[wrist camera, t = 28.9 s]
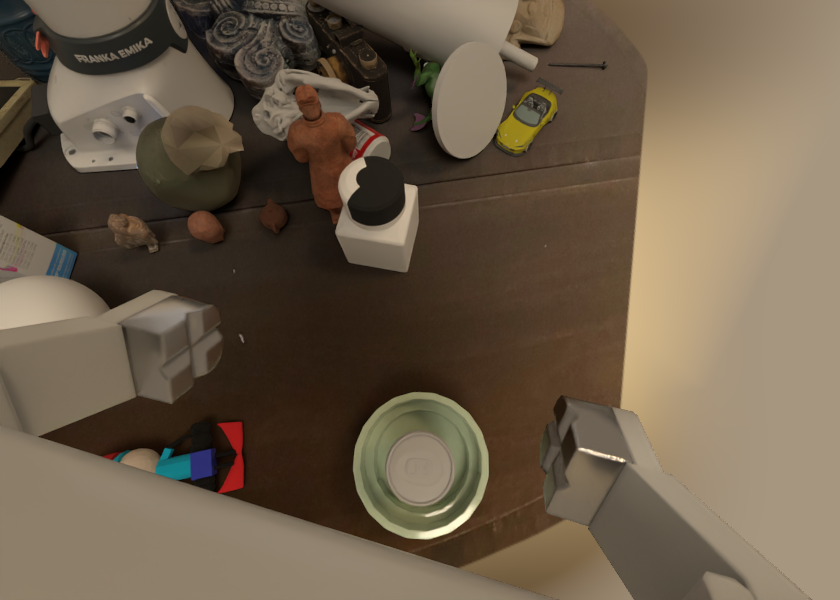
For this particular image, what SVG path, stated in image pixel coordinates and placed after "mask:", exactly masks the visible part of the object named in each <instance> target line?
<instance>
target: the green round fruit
mask: <svg viewBox="0 0 840 600" xmlns="http://www.w3.org/2000/svg"><path fill="white" fill-rule="evenodd" d="M232 129H233V124H232V123H231V122H229V121H228V120H227V119H226V118H225V117H223V116H222V115H221V114H219V113H215V112H211V111H210V110H209V109H205V108H202V107H199V106H194V105H190V106H184V107H180V108H178V109H176V110H174V111H173V112H172V113H171V114H170V115H169V116H167V117H163V118H160V119H157V120H155V121H153V122H151V123H150V124H148V125H147V126H146V127H145V128H144V129H143V131H142V132H141V134H140V136H139V139H138V143H137V147H136V162H137V167H138V171H139V173H140V175H141V177H142V179H143V180H144V182H145V183H146V185H147V186H148V188H149V189H150V190H151V191H152V192H153V193H154V194H155V195H156V196H157V197H158V198H159V199H160V200H161V201H162V202H164V203H165V204H167V205H169V206H172V207H174V208H178V209H183V210H189V211H195V212H197V211H202V210H203V211H213V210H216V209H218V208H220V207H222V206H224V205H226V204H227V203H229V202H230V201H231V200H233V199H234V197H235V196H236V195H237V193H238V190H239V185H240V181H241V159H240V154H239V151H243V150H244V148H243V145H242V137H241V136H240V135H239V134H238V133H237V132H235V131H233V130H232Z"/></svg>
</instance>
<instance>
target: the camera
mask: <svg viewBox="0 0 840 600" xmlns="http://www.w3.org/2000/svg"><path fill="white" fill-rule="evenodd" d="M305 10H306V13H307V16H308V20H309V23H310V25H311V27H312V29H313V32H314V35H315V36H316V39H317V41H318V45H319V49H320V51H321V56H320V59H318V60H317V67H316V68H315V69H313V70H311V71H309V72H312V73H319V75H320V76H322V77H325V78H326V77H327V78H337V79H340V80H341V81H342V83H345V84H348V85H350V86H352V87H355V88H357V89H361V88H364V87H366V86H369V89H370V90H372V91H374V93H375V94H376V95H377V97H378V100H379V109H378V110H377V113H375V116H374V117H373V118H369V119H370V120H371V121H373V122H376V123H381V122H384V121H386V120H388V119H389V118H390V117H391V114H392V109H391V103H390V94H389V85H388V75H387V66H386V64H385V63H384V61H383V60H382V59H381V58H380V57H379V56H378V55H377V54H376V52H375V51H374V50H373V49H372V48H371V47H370V46H369V45H368V44H367V43H366V41H365V40H364V39H363V38H362V37H363V36H364V34H365V31H364V28H363V26H362V25H356V26H351V25H350V24H349V23H348V21H347V20H346V19H345V18H344V17H342V16H340V15H338V14H336V13H334V12H332V11H330V10H328V9H326V8H324V7H322V6H321V5H319V4H317V3H315V2H313V1H311V0H309V1H308V2H307V3H306V5H305ZM366 93H369V92H368V91H367V92H366ZM359 102H360V103H363V102H364V101H361V100H360V101H359ZM370 114H372V113H370Z"/></svg>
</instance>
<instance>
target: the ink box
mask: <svg viewBox="0 0 840 600" xmlns="http://www.w3.org/2000/svg"><path fill="white" fill-rule="evenodd" d="M76 256H77V253H76V252H74V251H72V250H70V249H68V248H66V247H64V246H62V245H60V244H58V243H56V242H54V241H52V240H50V239H48V238H46V237H43V236H41V235H39V234H37V233H35V232H33V231H31V230H29V229H27V228H25V227H23V226H21V225H19V224H17V223H15V222H13V221H11V220H9V219H7V218H5V217H3V216H1V215H0V284H1V283H3V282H6V281H9V280H12V279H15V278H20V277H25V276H33V275H48V276H57V277H62V278H66V279H69V278H70V275H71V272H72V269H73V266H74V263H75V259H76Z"/></svg>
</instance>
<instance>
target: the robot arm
mask: <svg viewBox="0 0 840 600" xmlns="http://www.w3.org/2000/svg"><path fill="white" fill-rule="evenodd" d="M24 1H25V2H26V3H27V4H28V5H29V6H30V8H31V10H32V12H33V13H34V14H35V15H36V17H35V19H34V23H33V31H34V32H35V33H36V43H35V44H36V49H37V50H39V49H40V47H41V51H42V54H43V56H44V57H45V58H48V51H49V48H50V49H51V50H52V51H53V52H54V53H55V54H56V56H55V60H54V63H53V66H52V69H51V72H50V75H49V80H48V83H44V84H40V85H36V86H32V87H31V118H30V119H29V120H28V121H27V122H26V124H25V126H24V128H23V135H24V138H25V141H26V144H25V145H23V146H17V147H16V149H15V150H14V151H19V152H26V151H30V150H32V149H33V147H34V141H33V138H32V130H33V128H34V126H35V125H36V124H37V123H39V124H40V125H41V126H42V127H44V128H45V129H46V130H47V131H49V132H50V133H51V134H52V135H58V134H61V145H62V150H63V153H64V156H65V157H66V159H67V161H68V162H69V163H70V164H71V165H72V166H73V167H74V168H75V169H76V170H77V171H78V172H98V171H113V170H127V169H138V167H137V162H136V147H137V143H138V139H139V136H140V134H141V132H142V131H143V129H144V128H145V127H146V126H147V125H148V124H150V123H151V122H153V121H155V120H157V119H160V118H163V117H167V116H169V115H170V114H171V113H172V112H173V111H174V110H176V109H178V108H180V107H184V106H190V105H194V106H199V107H202V108H205V109H209V110H210V111H211V112H215V113H219V114H221V115H222V116H223V117H225V118H226V119H227V120H228V121H229V119H230V117H231V115H232V112H233V108H234V96H233V93H232V90H231V88H230V87H229V85H228V84H227V83H226V82H225V81H224V80H223V79H222V78H221V77H220V76H219V75H218V74H217V73H216V72H215V71H214V70H213V69H212V68H211V67H210V65H209V64H208V63H207V62H206V61H205V59H204V58H203V57H202V56H201V54H200V53H199V52H198V51H197V49H196V48H195V47H194V45H193V44H192V42H191V41H190V40H189V38H188V36H187V33H186V30H185V28H184V25H183V23H182V22H181V20H180V18H179V16H178V14H177V13H176V11H175V9H174V8H173V6H172V4H171V3H170V1H169V0H24ZM221 323H222V317H221V310H220V309H219V308H218V307H217V306H216V305H213V304H209V303H205V302H202V301H198V300H195V299H191V298H188V297H184V296H181V295H177V294H173V293H169V292H165V291H161V290H152V291H150V292H148V293H146V294H144V295H141V296H139V297H137V298H135V299H133V300H131V301H129V302H126V303H124V304H122V305H120V306H118V307H116V308H114V309H111V310H109V311H107V312H105V313H103V314H101V315H99V316H96V317H94V318H93V317H89V316H85V317H79V318H72V319H66V320H60V321H53V322H47V323H41V324H34V325H28V326H22V327H15V328H9V329H3V330H0V600H558V599H554V598H551V597H548V596H545V595H542V594H539V593H536V592H532V591H529V590H525V589H523V588H520V587H516V586H513V585H510V584H507V583H504V582H500V581H497V580H494V579H491V578H488V577H484V576H481V575H478V574H474V573H471V572H468V571H465V570H462V569H459V568H456V567H452V566H449V565H446V564H443V563H440V562H436V561H433V560H430V559H427V558H424V557H420V556H417V555H414V554H411V553H408V552H404V551H401V550H398V549H395V548H392V547H388V546H385V545H382V544H379V543H376V542H372V541H369V540H366V539H363V538H360V537H356V536H353V535H350V534H347V533H344V532H340V531H337V530H334V529H331V528H328V527H324V526H321V525H318V524H315V523H312V522H308V521H305V520H302V519H299V518H296V517H292V516H289V515H286V514H283V513H280V512H276V511H273V510H270V509H267V508H264V507H260V506H257V505H254V504H251V503H248V502H244V501H241V500H238V499H235V498H232V497H229V496H225V495H222V494H219V493H216V492H213V491H209V490H206V489H203V488H200V487H197V486H193V485H190V484H187V483H184V482H181V481H177V480H174V479H171V478H168V477H165V476H161V475H158V474H155V473H152V472H149V471H145V470H142V469H139V468H136V467H133V466H129V465H126V464H123V463H120V462H117V461H113V460H110V459H107V458H104V457H101V456H98V455H94V454H91V453H88V452H85V451H82V450H78V449H75V448H72V447H69V446H66V445H62V444H59V443H56V442H53V441H50V440H46V439H43V438H40V437H38V436H41V435H43V434H46V433H48V432H50V431H53V430H55V429H58V428H60V427H63V426H65V425H68V424H70V423H73V422H75V421H78V420H80V419H83V418H85V417H88V416H90V415H93V414H95V413H97V412H100V411H102V410H105V409H107V408H110V407H112V406H115V405H117V404H120V403H122V402H125V401H127V400H130V399H132V398H135V397H136V395H139V396H142V397H146V398H150V399H154V400H158V401H162V402H166V403H170V404H172V403H173V402H175V401H176V400H177V399H178V398H179V397H181V396H182V395H183V394H184V393H185V392H187V391H188V390H189V389H190V388H191V387H193V386H194V378H196V377H200V376H203V375H206V374H208V373H209V372H210V371H211V370H212V369H213V368H215V367H216V365H217V363H218V362H219V360H220V358H221V356H222V353H223V348H224V343H223V337H222V335H221V334H220V332H219V331H218V329H217V328H218V327H219V325H220V324H221ZM553 410H554V416H555V420H554V421H552V422H550V423H548V424H547V425H546V428H545V431H544V433H543V436H542V441H541V446H540V465H541V468H542V469H543V471H544V472H545V473H546V475H547V476H546V478H545V480H544V482H543V492H544V501H545V509H546V513H548V514H551V515H554V516H557V517H561V518H564V519H567V520H570V521H573V522H576V523H579V524H582V525H586V526H589V528H588V529H589V530H590V532H591V533H592V535H593V537H594V538H595V540H596V541H597V543H598V544H599V546H600V548H601V549H602V550H603V552H604V554H605V555H606V557H607V558H608V560H609V561H610V563H611V565H612V566H613V568H614V569H615V571H616V572H617V574H618V575H619V577H620V578H621V580H622V581H623V583H624V585H625V586H626V588H627V589H628V591H629V592H630V594H631V595H632V597H633V599H634V600H812V599H811V598H810V597H809V596H807V595H806V594H805V593H804V592H803V591H802V590H801V589H800V588H798V587H797V586H796V585H795V584H794V583H793V582H792V581H791V580H790V579H789V578H787V577H786V576H785V575H784V574H783V573H782V572H780V570H778V569H777V568H776V567H775V566H774V565H773V564H772V563H771V562H769V561H768V560H767V559H766V558H765V557H764V556H763V555H762V554H760V553H759V552H758V551H757V550H756V549H755V548H754V547H753V546H752V545H750V544H749V543H748V542H747V541H746V540H745V539H744V538H743V537H741V536H740V535H739V534H738V533H737V532H736V531H735V530H734V529H732V528H731V527H730V526H729V525H728V524H727V523H726V522H725V521H724V520H722V519H721V518H720V517H719V516H718V515H717V514H716V513H715V512H713V511H712V510H711V509H710V508H709V507H708V506H707V505H706V504H705V503H703V502H702V501H701V500H700V499H699V498H698V497H697V496H696V495H694V494H693V493H692V492H691V491H690V490H689V489H688V488H687V487H685V486H684V485H683V484H682V483H681V482H680V481H679V480H678V479H676V478H675V477H674V476H673V475H671V474H667V473H664V471H663V469H662V467H661V465H660V463H659V460H658V458H657V456H656V454H655V452H654V450H653V448H652V446H651V443H650V441H649V439H648V437H647V435H646V433H645V431H644V429H643V426H642V424H641V422H640V420H639V418H638V416H637V415H636V414H635V413H634V412H632V411H628V410H623V409H619V408H615V407H610V406H604V405H600V404H596V403H591V402H587V401H583V400H579V399H575V398H571V397H567V396H563V395H561V396H560V397H559V399H558V400H557V402H556V404H555V407H554V409H553Z"/></svg>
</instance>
